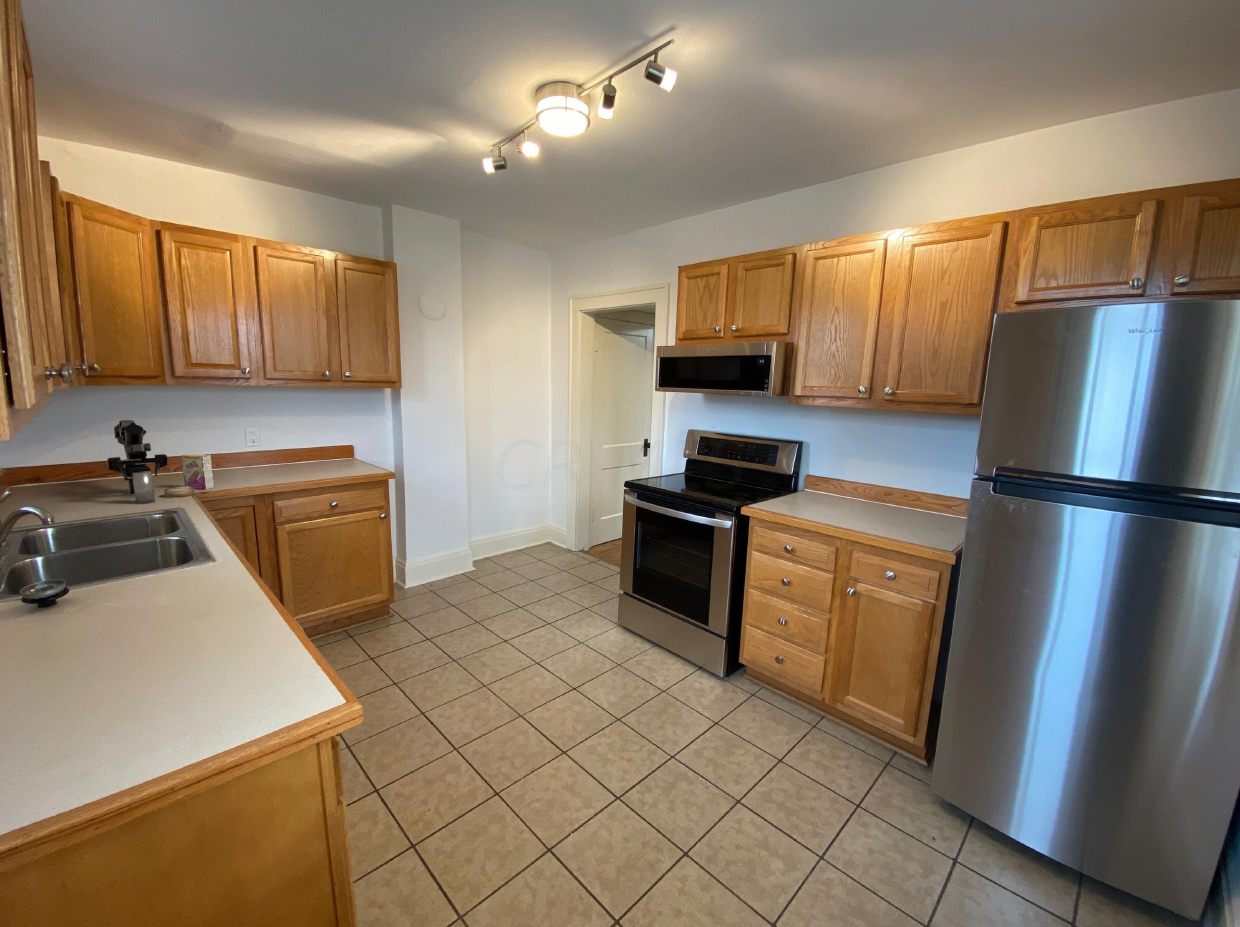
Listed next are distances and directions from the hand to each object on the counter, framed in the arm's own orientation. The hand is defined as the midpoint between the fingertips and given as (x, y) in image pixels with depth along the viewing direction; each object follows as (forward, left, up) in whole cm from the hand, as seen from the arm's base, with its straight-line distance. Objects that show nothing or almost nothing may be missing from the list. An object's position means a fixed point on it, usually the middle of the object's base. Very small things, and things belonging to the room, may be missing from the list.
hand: (141, 477), depth 216 cm
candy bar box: (-20, +17, -11) cm, 29 cm away
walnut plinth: (-6, +11, -10) cm, 16 cm away
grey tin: (+4, +1, -10) cm, 11 cm away
